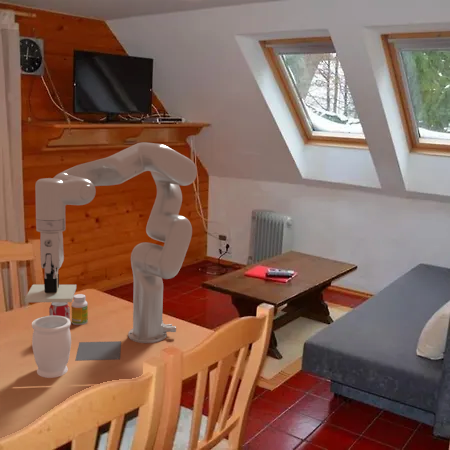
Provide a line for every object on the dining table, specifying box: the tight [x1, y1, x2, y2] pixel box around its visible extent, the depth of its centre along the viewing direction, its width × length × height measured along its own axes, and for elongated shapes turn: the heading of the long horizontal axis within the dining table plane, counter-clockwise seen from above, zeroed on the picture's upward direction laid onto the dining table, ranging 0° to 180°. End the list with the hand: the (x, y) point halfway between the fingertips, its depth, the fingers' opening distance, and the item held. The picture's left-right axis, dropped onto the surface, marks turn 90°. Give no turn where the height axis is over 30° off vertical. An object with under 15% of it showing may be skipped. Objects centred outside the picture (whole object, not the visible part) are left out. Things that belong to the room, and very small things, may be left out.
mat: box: [75, 340, 122, 362], centre depth 172 cm, size 13×13×1 cm
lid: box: [24, 269, 77, 303], centre depth 153 cm, size 12×12×7 cm
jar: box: [31, 315, 72, 379], centre depth 157 cm, size 11×10×15 cm
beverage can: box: [48, 302, 71, 330], centre depth 180 cm, size 6×6×12 cm
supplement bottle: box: [71, 293, 89, 326], centre depth 193 cm, size 5×5×10 cm
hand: (51, 289), depth 154 cm, fingers closed on lid, 3 cm apart
